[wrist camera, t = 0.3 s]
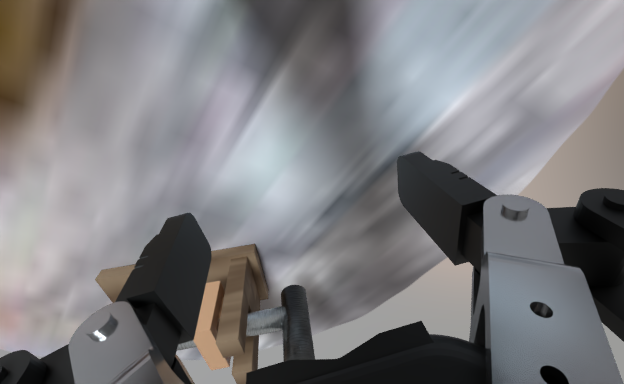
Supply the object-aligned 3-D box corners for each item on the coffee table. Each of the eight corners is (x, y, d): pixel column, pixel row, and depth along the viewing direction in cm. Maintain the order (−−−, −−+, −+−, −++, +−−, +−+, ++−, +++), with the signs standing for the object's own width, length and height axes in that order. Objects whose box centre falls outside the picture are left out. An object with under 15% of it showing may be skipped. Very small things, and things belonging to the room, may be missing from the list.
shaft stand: (101, 270, 33) (24, 376, 23) (254, 243, 34) (247, 333, 24) (134, 314, 37) (83, 419, 27) (268, 290, 39) (267, 382, 28)
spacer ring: (202, 283, 30) (189, 333, 25) (220, 280, 31) (210, 329, 25) (220, 320, 34) (211, 370, 29) (235, 317, 34) (229, 366, 29)
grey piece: (145, 311, 30) (72, 470, 19) (304, 282, 32) (322, 417, 20) (155, 327, 32) (94, 482, 21) (307, 299, 33) (325, 431, 22)
